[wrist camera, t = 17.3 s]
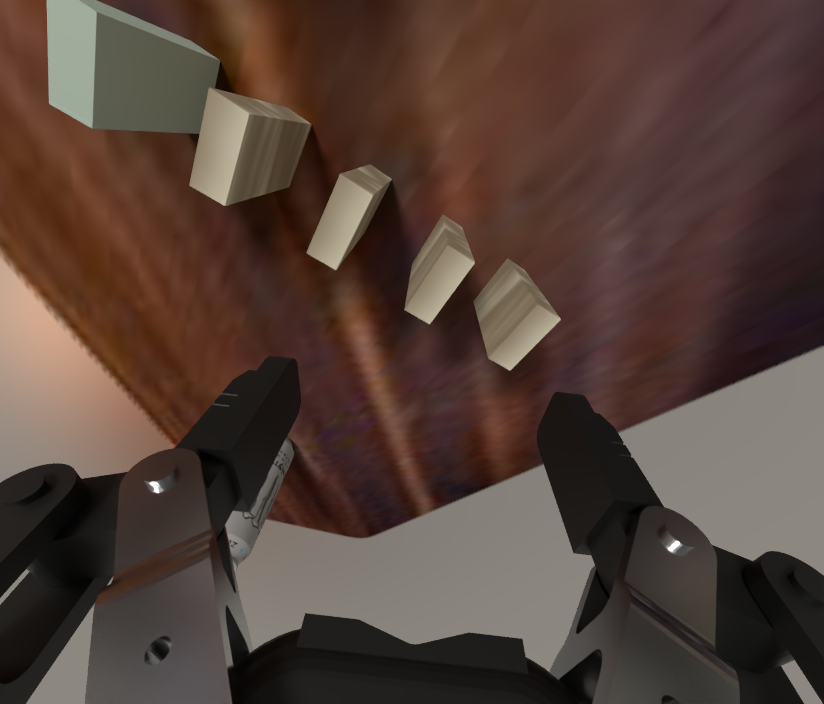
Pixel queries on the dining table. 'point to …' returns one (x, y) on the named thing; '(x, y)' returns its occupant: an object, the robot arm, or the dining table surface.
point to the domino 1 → (124, 70)
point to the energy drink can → (257, 508)
